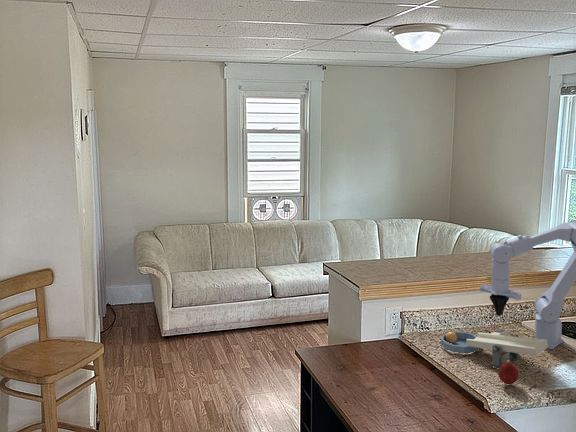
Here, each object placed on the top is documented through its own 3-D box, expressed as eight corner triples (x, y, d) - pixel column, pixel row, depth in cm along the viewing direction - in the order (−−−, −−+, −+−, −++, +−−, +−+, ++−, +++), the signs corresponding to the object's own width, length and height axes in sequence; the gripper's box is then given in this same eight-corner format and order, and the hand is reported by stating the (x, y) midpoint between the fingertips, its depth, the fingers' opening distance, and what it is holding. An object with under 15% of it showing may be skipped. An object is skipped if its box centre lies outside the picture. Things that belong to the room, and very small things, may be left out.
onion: (520, 390, 170) (520, 365, 168) (499, 389, 171) (500, 364, 169) (516, 380, 175) (517, 356, 173) (496, 379, 176) (497, 355, 175)
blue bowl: (454, 336, 208) (454, 328, 208) (485, 346, 199) (485, 338, 198) (434, 347, 201) (434, 339, 200) (465, 358, 191) (465, 349, 191)
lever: (493, 330, 203) (492, 322, 203) (561, 338, 185) (559, 329, 185) (467, 345, 193) (465, 337, 192) (536, 355, 174) (534, 346, 174)
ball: (459, 331, 201) (459, 342, 202) (449, 329, 204) (449, 339, 205) (452, 335, 199) (453, 345, 199) (443, 332, 202) (443, 343, 202)
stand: (510, 352, 193) (511, 332, 192) (522, 356, 190) (522, 336, 189) (488, 367, 184) (488, 346, 183) (499, 371, 181) (500, 350, 180)
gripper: (474, 276, 199) (474, 312, 202) (514, 285, 188) (513, 323, 191) (485, 271, 204) (485, 307, 207) (524, 279, 193) (523, 317, 196)
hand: (499, 314), depth 199 cm, fingers closed
